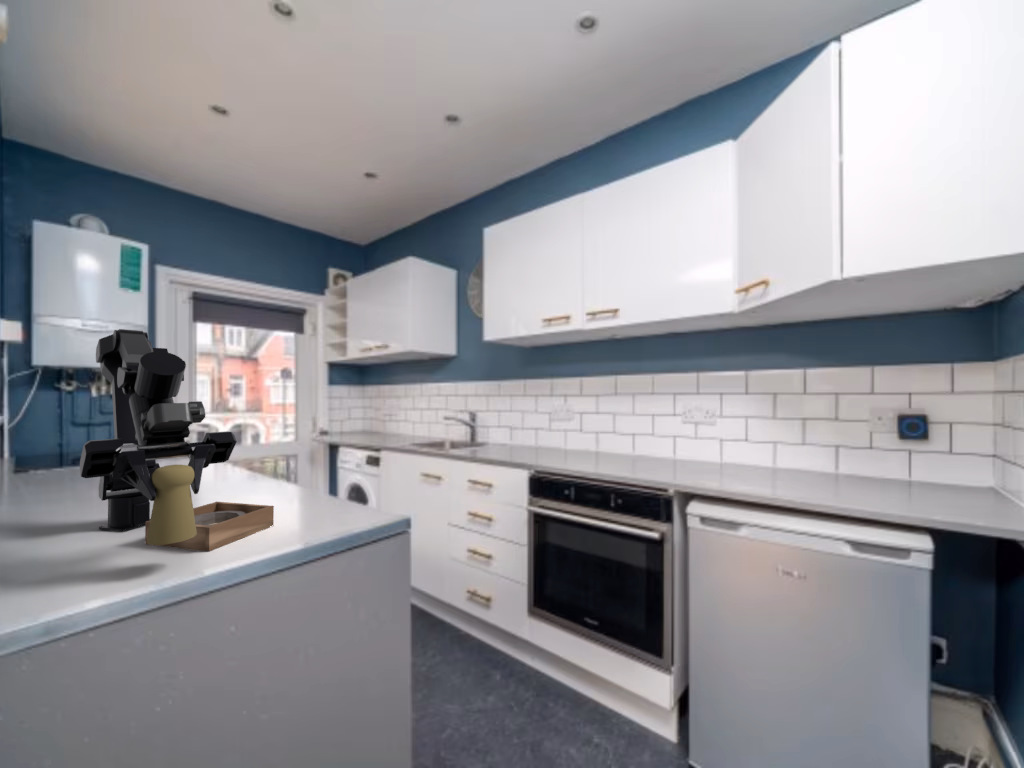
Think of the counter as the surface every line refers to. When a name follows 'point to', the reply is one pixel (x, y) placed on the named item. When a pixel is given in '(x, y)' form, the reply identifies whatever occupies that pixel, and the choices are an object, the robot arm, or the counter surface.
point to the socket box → (223, 524)
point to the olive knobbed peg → (172, 506)
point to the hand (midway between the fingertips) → (175, 495)
